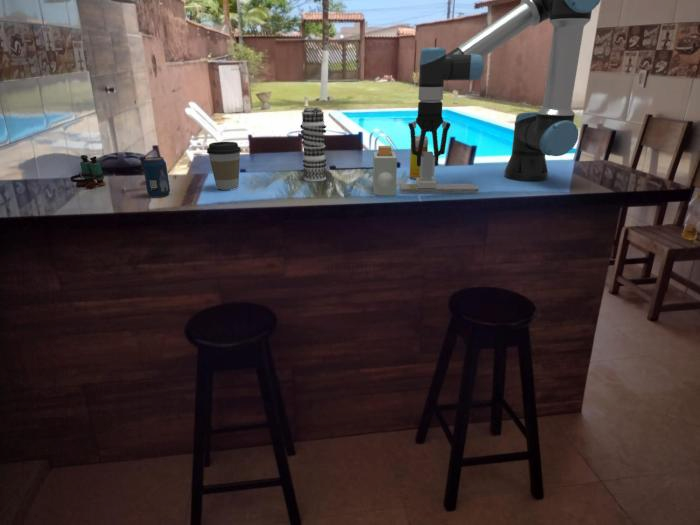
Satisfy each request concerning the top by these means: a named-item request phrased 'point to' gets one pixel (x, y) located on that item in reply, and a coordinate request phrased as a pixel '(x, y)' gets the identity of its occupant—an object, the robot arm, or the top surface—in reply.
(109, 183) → the top surface
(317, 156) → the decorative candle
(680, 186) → the top surface
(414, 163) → the beer can
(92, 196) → the top surface
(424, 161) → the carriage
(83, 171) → the binoculars
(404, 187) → the rail
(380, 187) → the white block
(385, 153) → the button
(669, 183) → the top surface
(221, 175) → the coffee cup
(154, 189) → the soda can
